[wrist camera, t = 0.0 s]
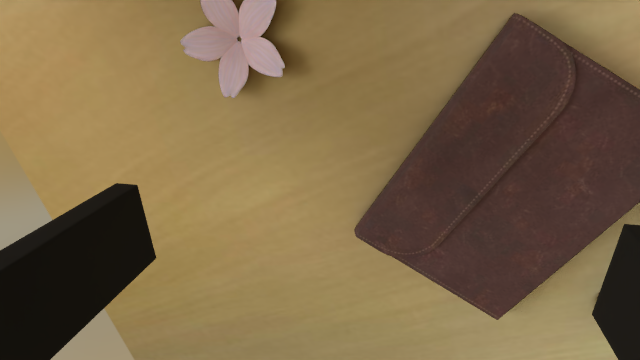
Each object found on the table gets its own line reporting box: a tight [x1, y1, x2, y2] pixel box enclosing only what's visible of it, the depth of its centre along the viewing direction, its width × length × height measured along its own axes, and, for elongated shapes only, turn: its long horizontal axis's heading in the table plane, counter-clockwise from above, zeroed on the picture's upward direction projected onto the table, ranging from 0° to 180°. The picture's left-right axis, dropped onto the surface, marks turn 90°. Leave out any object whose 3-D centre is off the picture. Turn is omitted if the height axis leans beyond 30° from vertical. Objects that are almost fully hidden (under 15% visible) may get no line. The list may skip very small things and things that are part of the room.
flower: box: [180, 0, 285, 98], centre depth 28 cm, size 10×10×2 cm
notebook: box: [355, 13, 640, 320], centre depth 28 cm, size 15×20×2 cm
